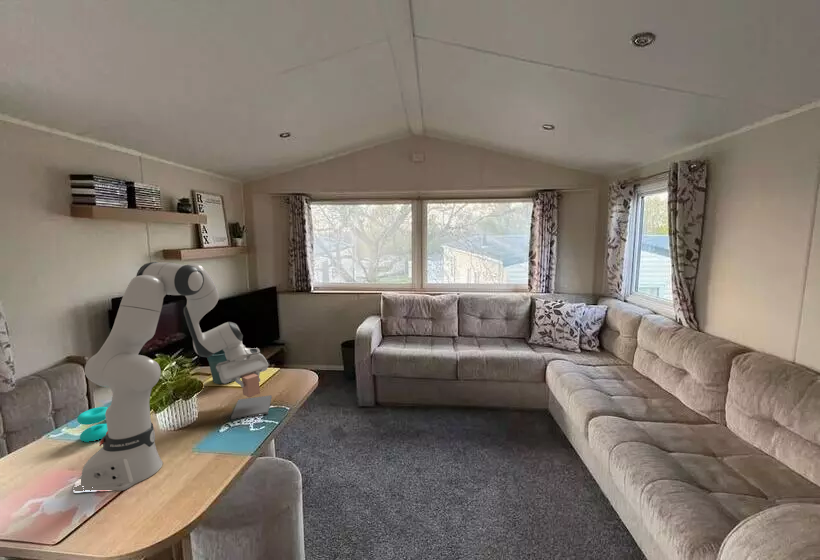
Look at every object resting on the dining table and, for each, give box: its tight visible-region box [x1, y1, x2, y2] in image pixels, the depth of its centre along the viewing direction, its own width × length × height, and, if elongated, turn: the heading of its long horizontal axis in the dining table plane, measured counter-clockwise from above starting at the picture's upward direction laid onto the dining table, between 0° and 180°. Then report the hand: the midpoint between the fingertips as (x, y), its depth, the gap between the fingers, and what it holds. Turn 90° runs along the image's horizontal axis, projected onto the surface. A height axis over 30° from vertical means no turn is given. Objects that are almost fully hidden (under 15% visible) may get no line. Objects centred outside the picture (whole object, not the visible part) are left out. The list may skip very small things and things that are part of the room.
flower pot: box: [206, 350, 236, 385], centre depth 198 cm, size 16×16×16 cm
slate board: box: [230, 395, 273, 420], centre depth 166 cm, size 14×17×1 cm
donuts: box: [76, 406, 109, 443], centre depth 145 cm, size 10×10×10 cm
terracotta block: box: [241, 373, 261, 398], centre depth 164 cm, size 5×5×8 cm
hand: (251, 384), depth 164 cm, fingers closed on terracotta block, 5 cm apart
